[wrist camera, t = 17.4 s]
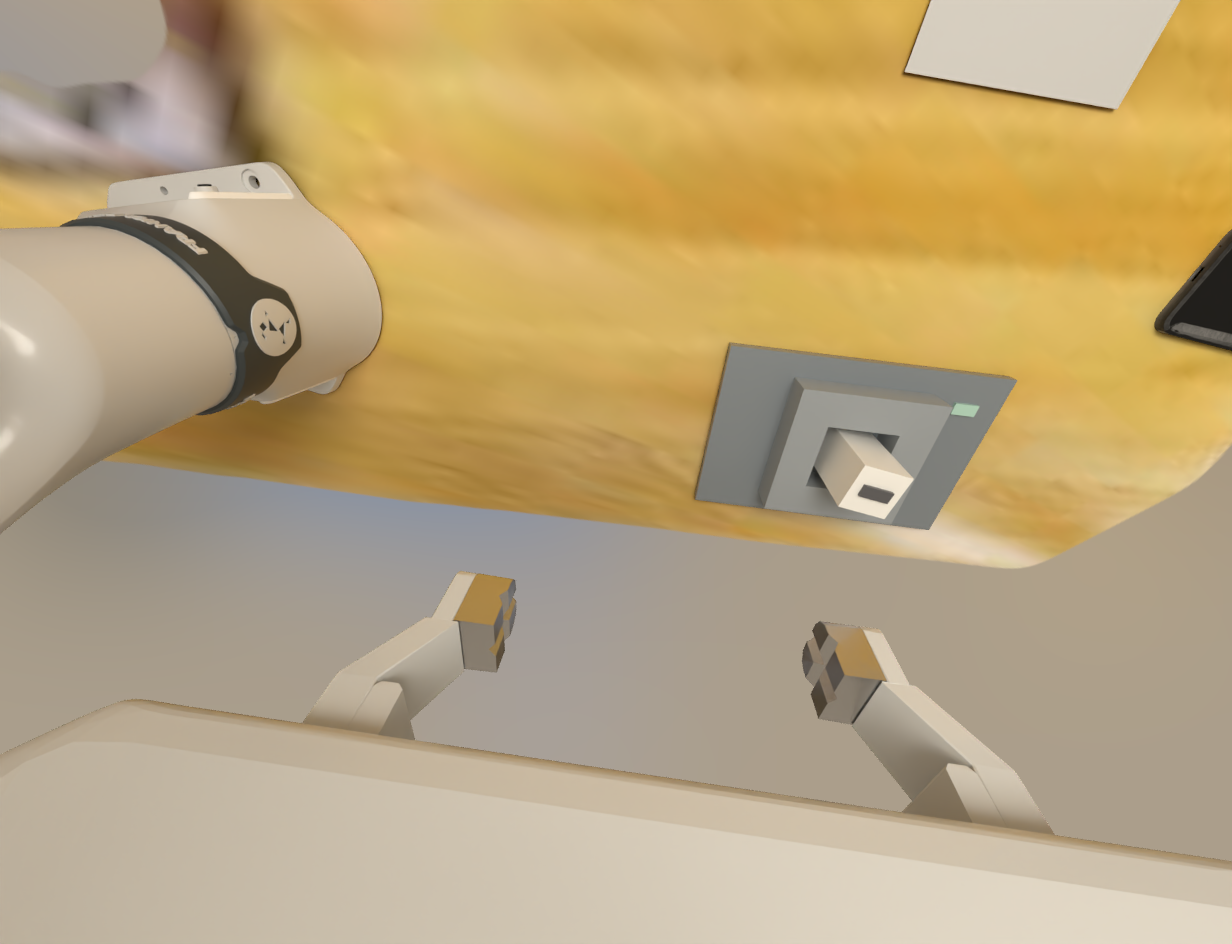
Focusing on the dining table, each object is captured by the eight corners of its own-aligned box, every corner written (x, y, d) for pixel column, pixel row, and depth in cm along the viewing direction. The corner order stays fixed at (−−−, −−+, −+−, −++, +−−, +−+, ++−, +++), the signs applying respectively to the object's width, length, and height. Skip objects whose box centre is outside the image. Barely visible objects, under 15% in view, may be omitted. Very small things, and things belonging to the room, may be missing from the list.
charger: (809, 458, 42) (839, 508, 35) (830, 421, 40) (866, 467, 33) (848, 469, 43) (886, 521, 35) (871, 433, 41) (915, 481, 33)
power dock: (694, 494, 47) (697, 516, 43) (729, 342, 38) (736, 355, 35) (923, 524, 46) (944, 549, 43) (1009, 376, 38) (1043, 393, 34)
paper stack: (1571, -312, 20) (1598, -328, 20) (1152, 271, 33) (1160, 272, 33) (1072, -398, 20) (1084, -416, 20) (846, 218, 33) (850, 218, 33)
